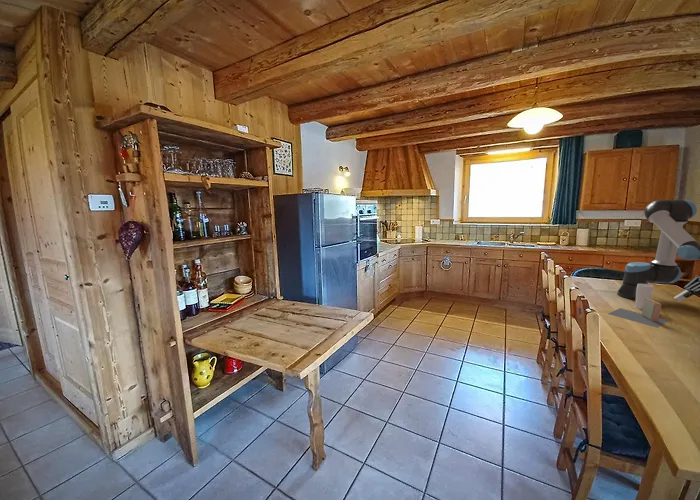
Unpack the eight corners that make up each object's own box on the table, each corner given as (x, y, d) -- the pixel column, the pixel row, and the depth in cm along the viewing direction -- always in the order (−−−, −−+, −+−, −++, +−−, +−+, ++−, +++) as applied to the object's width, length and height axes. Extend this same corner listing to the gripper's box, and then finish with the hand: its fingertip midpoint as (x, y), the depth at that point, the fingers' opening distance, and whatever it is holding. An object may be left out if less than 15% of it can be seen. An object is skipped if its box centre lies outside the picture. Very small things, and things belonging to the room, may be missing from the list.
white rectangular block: (641, 307, 170) (646, 283, 168) (652, 311, 164) (657, 287, 161) (629, 306, 171) (634, 283, 168) (639, 311, 164) (644, 286, 162)
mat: (619, 309, 167) (620, 308, 167) (668, 321, 150) (668, 320, 150) (607, 314, 160) (607, 313, 159) (657, 328, 142) (657, 327, 142)
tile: (647, 315, 156) (650, 298, 154) (658, 321, 149) (661, 304, 147) (641, 315, 157) (644, 298, 155) (651, 321, 150) (654, 303, 148)
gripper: (744, 280, 133) (692, 309, 141) (718, 273, 146) (671, 300, 153) (732, 268, 134) (681, 298, 141) (707, 263, 146) (661, 290, 154)
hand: (676, 299), depth 147 cm, fingers closed
